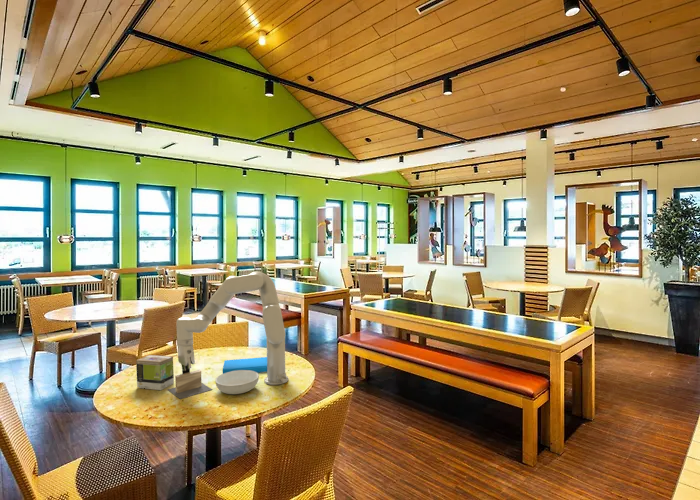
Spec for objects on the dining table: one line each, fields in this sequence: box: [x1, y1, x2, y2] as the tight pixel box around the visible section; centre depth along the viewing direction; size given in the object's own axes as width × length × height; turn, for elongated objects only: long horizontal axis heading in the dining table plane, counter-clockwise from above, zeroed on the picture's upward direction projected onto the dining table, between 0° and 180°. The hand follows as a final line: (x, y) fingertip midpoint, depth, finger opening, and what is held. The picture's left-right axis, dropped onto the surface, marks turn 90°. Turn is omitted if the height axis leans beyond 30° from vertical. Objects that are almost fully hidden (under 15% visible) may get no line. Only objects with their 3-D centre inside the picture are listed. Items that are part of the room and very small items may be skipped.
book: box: [222, 356, 267, 374], centre depth 235 cm, size 17×4×25 cm
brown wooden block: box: [174, 369, 202, 393], centre depth 204 cm, size 3×12×8 cm, turn 134°
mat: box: [167, 382, 213, 400], centre depth 203 cm, size 16×16×1 cm
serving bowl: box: [214, 370, 259, 395], centre depth 203 cm, size 21×21×7 cm
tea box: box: [135, 354, 175, 391], centre depth 210 cm, size 15×10×15 cm
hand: (186, 377), depth 206 cm, fingers closed
